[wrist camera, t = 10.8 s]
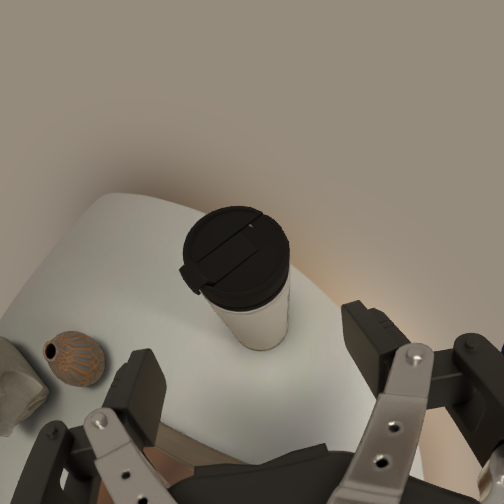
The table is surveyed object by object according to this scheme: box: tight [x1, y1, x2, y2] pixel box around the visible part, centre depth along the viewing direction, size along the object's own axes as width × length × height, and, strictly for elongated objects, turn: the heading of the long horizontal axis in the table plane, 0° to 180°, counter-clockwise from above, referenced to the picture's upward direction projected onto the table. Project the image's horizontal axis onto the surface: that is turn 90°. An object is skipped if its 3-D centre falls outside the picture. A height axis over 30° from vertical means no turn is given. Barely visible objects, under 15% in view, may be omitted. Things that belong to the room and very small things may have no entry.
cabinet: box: [97, 422, 249, 504], centre depth 22 cm, size 16×13×10 cm
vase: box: [43, 331, 105, 387], centre depth 30 cm, size 7×7×9 cm
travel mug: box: [179, 206, 290, 351], centre depth 26 cm, size 6×7×20 cm
